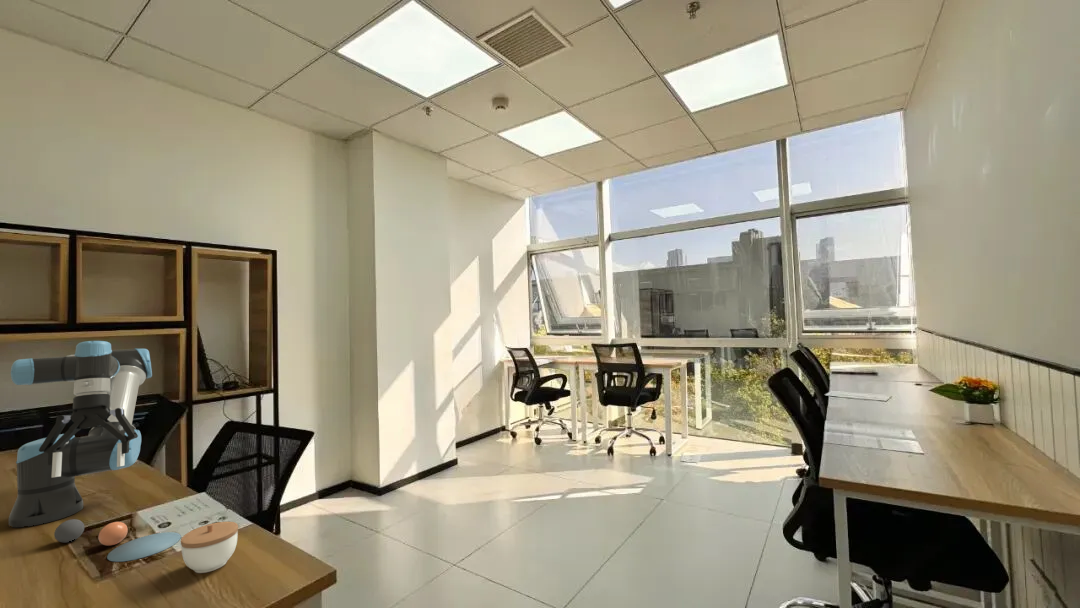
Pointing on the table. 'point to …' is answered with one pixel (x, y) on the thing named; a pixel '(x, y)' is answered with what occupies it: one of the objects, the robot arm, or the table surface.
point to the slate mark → (144, 546)
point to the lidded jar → (209, 546)
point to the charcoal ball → (69, 530)
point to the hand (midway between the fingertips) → (89, 471)
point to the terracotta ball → (113, 533)
